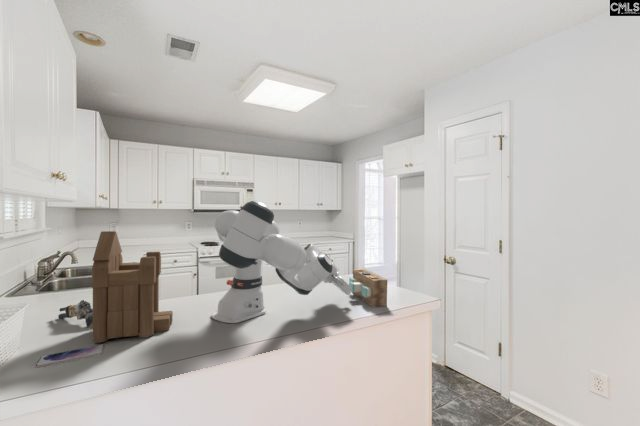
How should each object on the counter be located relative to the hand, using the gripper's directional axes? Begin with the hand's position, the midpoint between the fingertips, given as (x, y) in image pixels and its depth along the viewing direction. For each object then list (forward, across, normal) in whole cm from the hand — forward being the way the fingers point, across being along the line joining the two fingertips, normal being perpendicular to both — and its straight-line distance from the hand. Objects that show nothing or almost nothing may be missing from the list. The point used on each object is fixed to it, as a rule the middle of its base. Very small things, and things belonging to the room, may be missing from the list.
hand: (348, 293), depth 138 cm
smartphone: (-64, -23, +72) cm, 99 cm away
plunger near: (+9, -1, -7) cm, 11 cm away
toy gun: (-71, +5, +79) cm, 106 cm away
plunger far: (+9, +15, -7) cm, 19 cm away
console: (+13, +7, -5) cm, 16 cm away
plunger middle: (+7, +7, -5) cm, 11 cm away
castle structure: (-55, -3, +63) cm, 84 cm away
